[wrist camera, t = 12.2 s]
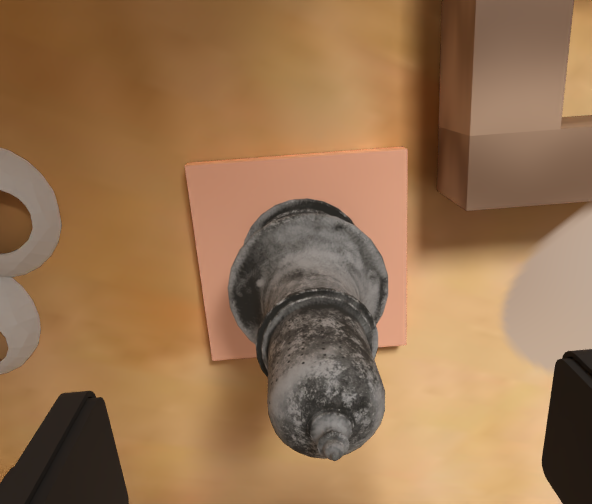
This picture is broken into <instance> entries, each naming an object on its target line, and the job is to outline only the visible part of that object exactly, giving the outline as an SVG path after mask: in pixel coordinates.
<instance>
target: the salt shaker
mask: <svg viewBox="0 0 592 504" xmlns="http://www.w3.org/2000/svg"><path fill="white" fill-rule="evenodd" d="M227 289H228V297H229V305H230V309H231V311H232V314H233V316H234V318H235V321H236V323H237V325H238V326H239V328H240V329H241V330H242V331H243V333H244V334H245V335H246V336H247V338H248V339H249V340H250V341H251V342H253V343H254V344H255V345H256V355H257V359H258V362H259V364H260V367H261V369H262V371H263V372H264V373H265V375H266V376H267V377H268V399H267V403H268V414H269V418H270V420H271V423H272V426H273V428H274V430H275V433H276V434H277V435H278V437H279V438H280V439H281V440H282V441H283V443H284V444H286V445H287V446H289V447H290V448H292V449H293V450H295V451H297V452H299V453H301V454H304V455H307V456H309V457H314V458H323V459H325V458H328V459H330V460H333V461H337V460H338V459H340V458H341V457H342V456H343V455H346V454H349V453H351V452H353V451H354V450H356V449H358V448H360V447H361V446H362V445H363V444H364V443H365V442H366V441H367V440H368V439H370V438H371V437H372V436H373V435H374V433H375V432H376V430H377V429H378V427H379V425H380V424H381V421H382V418H383V415H384V412H385V390H384V387H383V384H382V380H381V377H380V375H379V372H378V369H377V366H376V363H375V360H374V359H375V356H376V352H377V349H378V330H377V327H376V325H377V323H378V321H379V320H380V318H381V316H382V315H383V312H384V309H385V305H386V301H387V298H388V273H387V270H386V267H385V263H384V260H383V257H382V255H381V254H380V252H379V251H378V249H377V248H376V246H375V245H374V243H373V242H372V240H371V239H370V238H369V237H368V236H367V235H366V234H364V233H363V232H362V231H361V230H360V229H359V228H357V227H356V226H355V225H354V223H353V222H352V220H351V219H350V218H349V217H348V216H347V215H346V214H345V213H343V212H342V211H341V210H340V209H339V208H337V207H335V206H333V205H331V204H328V203H326V202H324V201H319V200H314V199H308V198H306V199H293V200H288V201H286V202H283V203H280V204H277V205H275V206H273V207H272V208H270V209H269V210H267V211H266V212H264V213H263V214H261V216H260V217H259V218H258V219H257V220H256V221H255V222H254V224H253V225H252V226H251V228H250V230H249V232H248V234H247V236H246V238H245V240H244V245H243V246H242V247H241V248H240V250H239V252H238V254H237V256H236V258H235V260H234V262H233V264H232V267H231V270H230V276H229V282H228V288H227Z"/></svg>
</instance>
